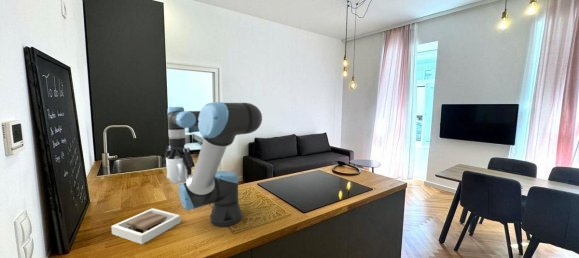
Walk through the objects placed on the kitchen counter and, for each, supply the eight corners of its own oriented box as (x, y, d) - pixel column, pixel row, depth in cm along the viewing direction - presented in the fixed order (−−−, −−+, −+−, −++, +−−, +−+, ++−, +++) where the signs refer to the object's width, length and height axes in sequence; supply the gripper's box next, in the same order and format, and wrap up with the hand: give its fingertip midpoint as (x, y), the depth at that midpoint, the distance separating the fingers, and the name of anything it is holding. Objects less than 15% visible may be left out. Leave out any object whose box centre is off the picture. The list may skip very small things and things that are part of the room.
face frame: (180, 222, 111) (180, 215, 110) (141, 244, 93) (141, 236, 93) (152, 214, 118) (152, 208, 118) (111, 233, 101) (111, 226, 100)
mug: (194, 184, 116) (193, 158, 115) (169, 189, 110) (168, 161, 109) (188, 177, 129) (187, 153, 127) (166, 180, 123) (164, 156, 121)
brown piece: (167, 224, 109) (166, 216, 108) (144, 236, 98) (144, 227, 98) (150, 219, 113) (150, 212, 112) (127, 231, 103) (126, 222, 102)
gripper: (201, 138, 117) (202, 180, 119) (166, 135, 126) (168, 174, 128) (189, 140, 110) (191, 184, 112) (153, 137, 119) (155, 178, 121)
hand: (179, 179), depth 120 cm, fingers closed on mug, 12 cm apart
